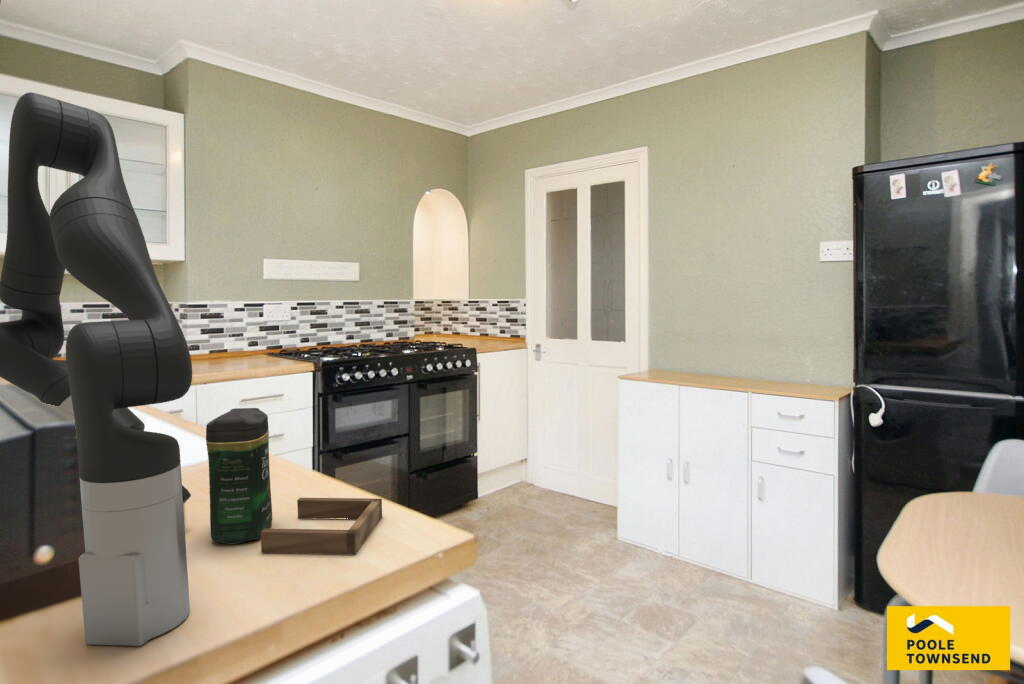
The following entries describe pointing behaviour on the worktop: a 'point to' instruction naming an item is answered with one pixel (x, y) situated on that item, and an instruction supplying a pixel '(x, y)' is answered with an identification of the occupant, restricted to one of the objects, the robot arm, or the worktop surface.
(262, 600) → the worktop surface
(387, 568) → the worktop surface
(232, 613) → the worktop surface
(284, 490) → the worktop surface
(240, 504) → the coffee jar
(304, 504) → the wooden u-shaped frame
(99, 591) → the robot arm
